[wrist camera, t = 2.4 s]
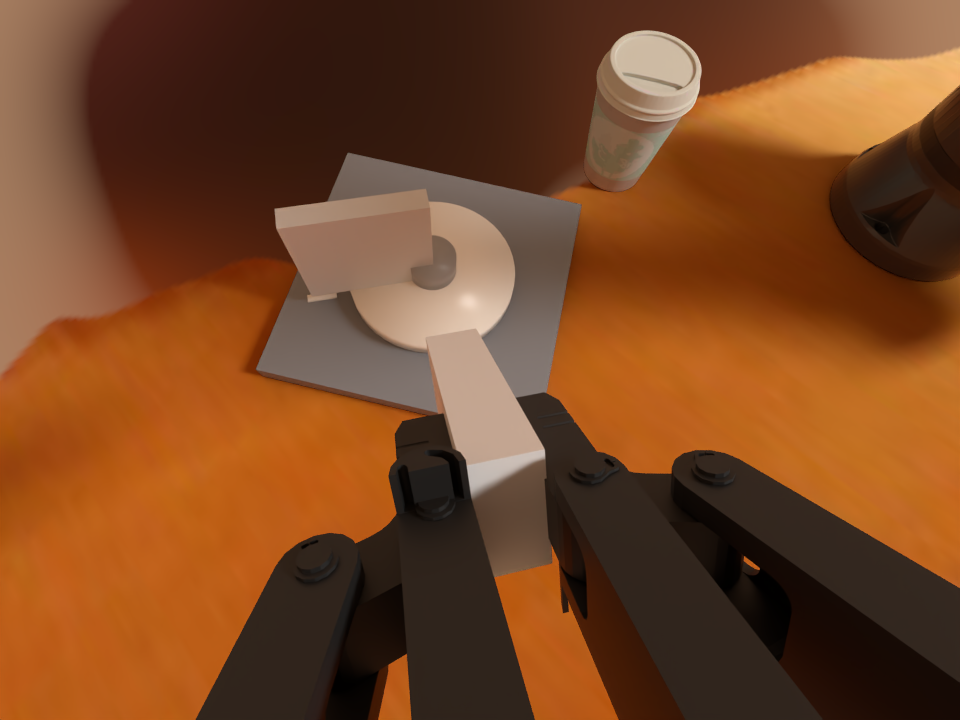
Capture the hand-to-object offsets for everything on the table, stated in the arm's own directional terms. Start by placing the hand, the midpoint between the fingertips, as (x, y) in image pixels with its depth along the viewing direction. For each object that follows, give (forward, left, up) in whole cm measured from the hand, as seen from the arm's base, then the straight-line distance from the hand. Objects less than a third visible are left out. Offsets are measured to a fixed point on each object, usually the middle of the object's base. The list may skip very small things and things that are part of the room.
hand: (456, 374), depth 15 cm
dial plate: (+6, -17, -26) cm, 31 cm away
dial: (+7, -16, -24) cm, 30 cm away
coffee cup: (-8, -35, -26) cm, 44 cm away
